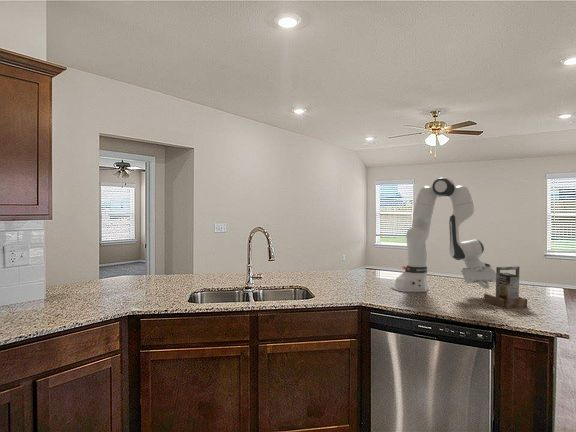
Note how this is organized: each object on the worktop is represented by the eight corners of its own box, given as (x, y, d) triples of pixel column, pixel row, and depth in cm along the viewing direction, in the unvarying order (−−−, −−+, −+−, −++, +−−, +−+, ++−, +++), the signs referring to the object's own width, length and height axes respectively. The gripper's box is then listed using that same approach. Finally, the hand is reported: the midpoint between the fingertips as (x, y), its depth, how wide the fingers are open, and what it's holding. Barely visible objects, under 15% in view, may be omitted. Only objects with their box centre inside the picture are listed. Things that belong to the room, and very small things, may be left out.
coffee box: (495, 302, 219) (496, 272, 218) (505, 302, 220) (506, 272, 220) (508, 306, 210) (509, 275, 209) (518, 306, 212) (519, 275, 211)
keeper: (505, 308, 207) (506, 269, 206) (483, 301, 221) (484, 264, 221) (527, 307, 210) (528, 268, 209) (504, 300, 225) (505, 264, 224)
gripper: (462, 265, 233) (473, 285, 224) (492, 264, 238) (504, 284, 229) (457, 271, 237) (467, 291, 228) (487, 270, 242) (498, 290, 233)
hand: (486, 288), depth 228 cm, fingers closed
